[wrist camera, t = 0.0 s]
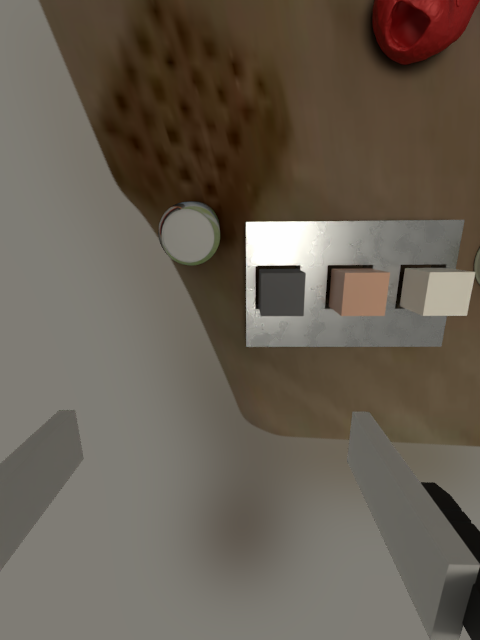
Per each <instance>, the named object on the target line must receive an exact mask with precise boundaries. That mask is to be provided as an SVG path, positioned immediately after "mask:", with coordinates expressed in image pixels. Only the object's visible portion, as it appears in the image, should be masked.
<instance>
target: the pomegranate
mask: <svg viewBox="0 0 480 640" xmlns="http://www.w3.org/2000/svg"><path fill="white" fill-rule="evenodd" d="M478 2H479V0H374V5H373V19H372V22H373V30H374V33H375V36H376V40H377V42H378V44H379V46H380V48H381V50H382V51H383V52H384V54H386V55H387V57H389V58H390V59H391V60H393V61H395V62H397V63H400V64H402V65H408V64H411V63H415V62H418V61H422V60H426V59H427V58H429V57H431V56H433V55H435V54H437V53H439V52H441V51H442V50H444V49H446V48H447V47H448V46H449V45H450V44H451V43H453V42H455V41H456V40H457V39H458V38H459V37H460V36H461V35H462V33H463V32H464V31H465V29H466V27H467V25H468V23H469V21H470V18H471V16H472V14H473V12H474V10H475V8H476V6H477V4H478Z"/></svg>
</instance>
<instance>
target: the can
mask: <svg viewBox="0 0 480 640" xmlns="http://www.w3.org/2000/svg"><path fill="white" fill-rule="evenodd" d="M474 272H475V277H476V280H477V282H478V283H479V285H480V248H479V250H478V252H477V254H476V257H475V261H474Z"/></svg>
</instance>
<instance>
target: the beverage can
mask: <svg viewBox="0 0 480 640" xmlns="http://www.w3.org/2000/svg"><path fill="white" fill-rule="evenodd" d="M158 234H159V240H160V244H161V246H162V248H163V250H164V251H165V253H166V254H167V255H168V256H169V257H170V258H171V259H173V260H174V261H176V262H178V263H181V264H184V265H198V264H201V263H204V262H206V261H207V260H209V259H210V258H211V257H212V256H213V255H214V253H215V252H216V250H217V248H218V245H219V242H220V226H219V220H218V218H217V215H216V214H215V212H214V211H213V210H212V209H211V208H210V207H209V206H208V205H206V204H204V203H201V202H182V203H178V204H176V205H173V206H172V207H171V208H169V209H168V210H167V211H166V212H165V213H164V215H163V216H162V218H161V221H160V224H159V230H158Z"/></svg>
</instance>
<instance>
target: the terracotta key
mask: <svg viewBox="0 0 480 640" xmlns="http://www.w3.org/2000/svg"><path fill="white" fill-rule="evenodd" d="M389 278H390V272H385V271H381V270H376V269H371V268H350V269H332V270H331V284H330V297H329V307H330V308H331V309H333V310H334V311H335V312H337V313H338V314H339V315H341V316H385V310H386V302H387V294H388V286H389Z"/></svg>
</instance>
